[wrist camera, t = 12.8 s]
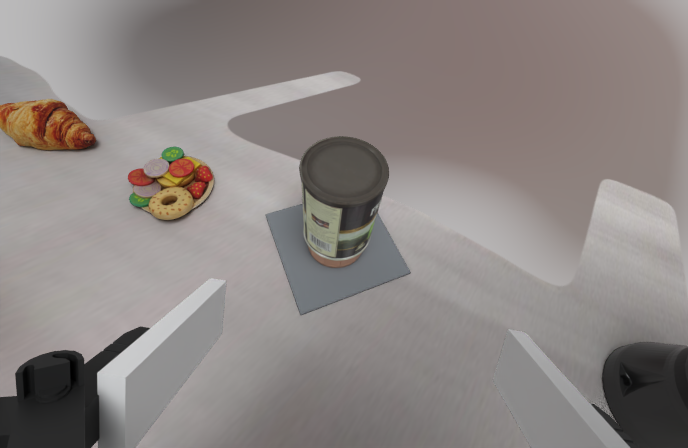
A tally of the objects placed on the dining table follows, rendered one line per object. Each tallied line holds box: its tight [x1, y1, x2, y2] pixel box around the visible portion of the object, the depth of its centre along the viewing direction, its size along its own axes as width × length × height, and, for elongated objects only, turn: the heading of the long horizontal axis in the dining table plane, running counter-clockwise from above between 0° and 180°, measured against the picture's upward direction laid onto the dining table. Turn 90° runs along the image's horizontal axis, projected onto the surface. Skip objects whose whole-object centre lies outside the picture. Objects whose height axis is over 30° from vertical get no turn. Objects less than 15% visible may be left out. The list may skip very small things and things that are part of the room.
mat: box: [266, 204, 411, 315], centre depth 53 cm, size 18×18×1 cm
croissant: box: [0, 99, 96, 150], centre depth 58 cm, size 21×10×8 cm, turn 72°
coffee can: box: [299, 136, 389, 261], centre depth 43 cm, size 10×10×14 cm
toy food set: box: [128, 147, 214, 220], centre depth 55 cm, size 13×13×3 cm
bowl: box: [308, 246, 361, 268], centre depth 51 cm, size 9×9×4 cm
